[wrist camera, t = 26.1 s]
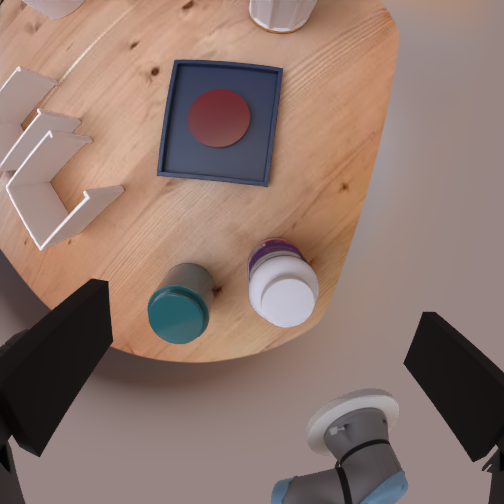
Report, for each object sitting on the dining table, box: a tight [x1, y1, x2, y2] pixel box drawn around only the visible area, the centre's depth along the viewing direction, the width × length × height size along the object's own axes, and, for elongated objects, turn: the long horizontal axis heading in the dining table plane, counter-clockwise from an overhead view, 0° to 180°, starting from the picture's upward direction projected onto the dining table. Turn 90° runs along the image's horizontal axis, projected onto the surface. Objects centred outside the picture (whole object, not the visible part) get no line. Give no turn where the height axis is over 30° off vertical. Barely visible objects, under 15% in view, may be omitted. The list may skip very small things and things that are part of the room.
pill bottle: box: [248, 238, 319, 327], centre depth 36 cm, size 8×8×14 cm
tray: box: [157, 60, 283, 187], centre depth 37 cm, size 17×15×2 cm
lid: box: [188, 89, 251, 149], centre depth 36 cm, size 8×8×2 cm
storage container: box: [0, 66, 125, 251], centre depth 32 cm, size 25×11×11 cm, turn 34°
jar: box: [148, 263, 215, 344], centre depth 39 cm, size 8×8×11 cm
